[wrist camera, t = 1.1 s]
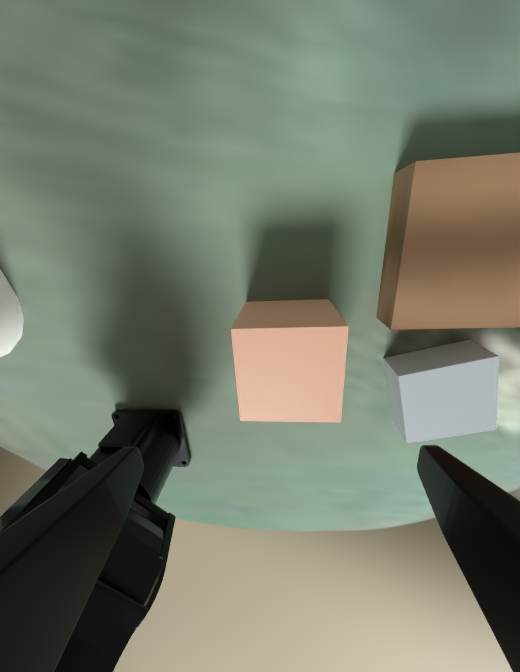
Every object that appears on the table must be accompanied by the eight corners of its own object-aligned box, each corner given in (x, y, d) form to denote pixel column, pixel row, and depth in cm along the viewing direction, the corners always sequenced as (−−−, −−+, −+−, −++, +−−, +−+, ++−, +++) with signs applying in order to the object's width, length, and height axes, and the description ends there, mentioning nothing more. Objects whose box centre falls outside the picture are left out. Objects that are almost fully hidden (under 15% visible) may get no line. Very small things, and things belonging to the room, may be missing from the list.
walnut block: (506, 312, 18) (548, 326, 15) (374, 315, 19) (390, 329, 16) (554, 162, 14) (619, 144, 12) (391, 174, 15) (415, 161, 12)
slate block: (467, 403, 20) (496, 429, 18) (390, 416, 22) (406, 443, 19) (466, 338, 18) (498, 356, 16) (381, 356, 20) (398, 376, 17)
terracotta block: (324, 371, 20) (340, 422, 15) (251, 371, 21) (240, 420, 15) (328, 298, 18) (348, 326, 12) (246, 301, 19) (230, 328, 13)
